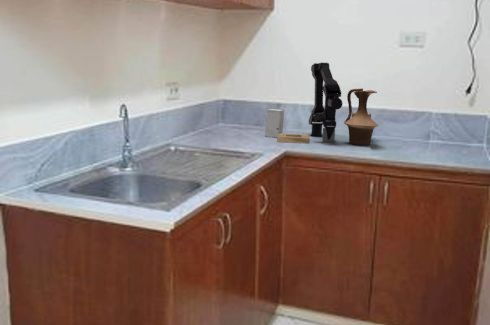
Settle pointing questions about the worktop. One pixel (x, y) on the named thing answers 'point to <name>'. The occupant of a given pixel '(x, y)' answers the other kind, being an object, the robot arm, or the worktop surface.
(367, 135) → the pitcher
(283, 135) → the post socket
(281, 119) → the skincare box
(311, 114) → the robot arm
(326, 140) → the dark grey rectangular prism
